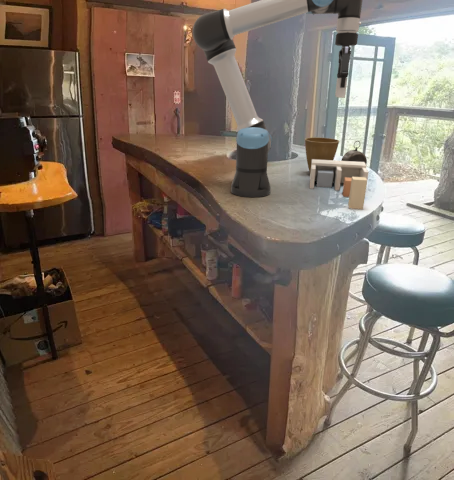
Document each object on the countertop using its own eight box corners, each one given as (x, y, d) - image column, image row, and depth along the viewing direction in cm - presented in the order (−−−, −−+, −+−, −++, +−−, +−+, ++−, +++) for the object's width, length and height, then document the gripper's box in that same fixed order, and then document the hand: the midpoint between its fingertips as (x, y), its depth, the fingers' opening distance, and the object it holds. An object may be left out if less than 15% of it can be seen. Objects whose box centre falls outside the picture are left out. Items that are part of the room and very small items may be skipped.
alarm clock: (359, 175, 185) (364, 139, 179) (366, 178, 180) (371, 141, 174) (338, 176, 183) (342, 140, 177) (344, 179, 178) (349, 141, 172)
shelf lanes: (309, 188, 161) (311, 166, 158) (309, 179, 175) (311, 159, 172) (365, 192, 157) (369, 169, 154) (361, 183, 171) (364, 161, 168)
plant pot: (295, 174, 185) (298, 139, 179) (313, 170, 195) (316, 136, 189) (324, 180, 175) (328, 143, 169) (340, 175, 185) (345, 139, 179)
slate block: (316, 186, 164) (318, 172, 162) (316, 183, 170) (317, 169, 167) (331, 187, 163) (333, 173, 161) (331, 184, 169) (332, 170, 166)
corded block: (347, 208, 137) (350, 179, 133) (342, 192, 156) (345, 167, 152) (365, 209, 136) (369, 180, 132) (358, 193, 155) (362, 167, 151)
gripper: (362, 28, 129) (353, 98, 137) (354, 36, 151) (347, 96, 159) (338, 28, 130) (330, 98, 138) (334, 36, 153) (328, 95, 161)
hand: (339, 97), depth 149 cm, fingers open, 13 cm apart
